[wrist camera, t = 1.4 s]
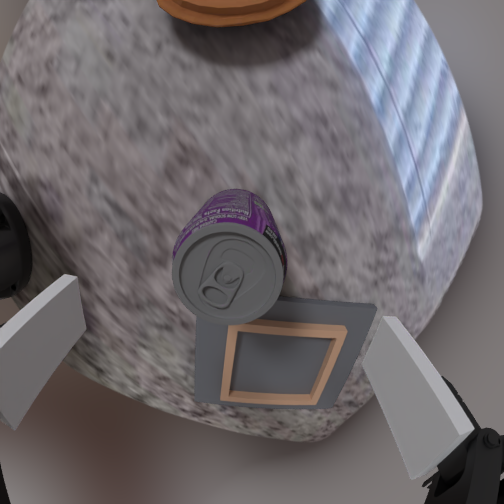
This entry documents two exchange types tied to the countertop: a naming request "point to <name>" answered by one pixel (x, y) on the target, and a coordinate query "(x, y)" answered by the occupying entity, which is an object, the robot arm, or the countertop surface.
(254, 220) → the beverage can
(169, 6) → the pie
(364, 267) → the countertop surface
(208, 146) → the countertop surface
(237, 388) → the dock plate
